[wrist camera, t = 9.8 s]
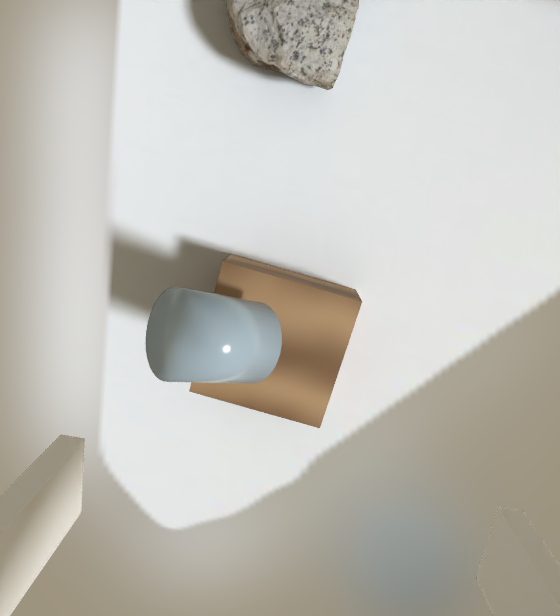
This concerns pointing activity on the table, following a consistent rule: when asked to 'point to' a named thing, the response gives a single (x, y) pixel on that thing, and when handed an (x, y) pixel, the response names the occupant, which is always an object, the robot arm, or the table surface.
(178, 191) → the table surface
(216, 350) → the grey rounded cylinder
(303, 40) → the rock
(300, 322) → the walnut block
